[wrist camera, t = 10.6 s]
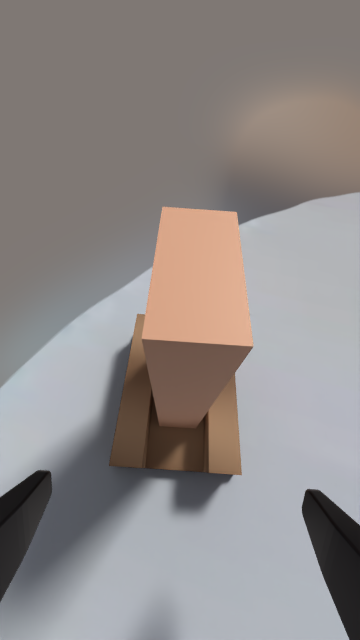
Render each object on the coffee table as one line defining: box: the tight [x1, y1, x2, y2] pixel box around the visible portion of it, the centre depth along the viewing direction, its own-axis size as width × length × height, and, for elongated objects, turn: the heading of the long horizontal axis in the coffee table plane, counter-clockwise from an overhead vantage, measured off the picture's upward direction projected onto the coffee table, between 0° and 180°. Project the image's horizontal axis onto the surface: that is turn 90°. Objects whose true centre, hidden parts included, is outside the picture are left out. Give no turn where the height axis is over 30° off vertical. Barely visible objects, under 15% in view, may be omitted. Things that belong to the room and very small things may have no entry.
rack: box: [109, 314, 242, 475], centre depth 17 cm, size 10×8×3 cm
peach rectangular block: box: [142, 207, 253, 429], centre depth 12 cm, size 5×2×13 cm, turn 177°
